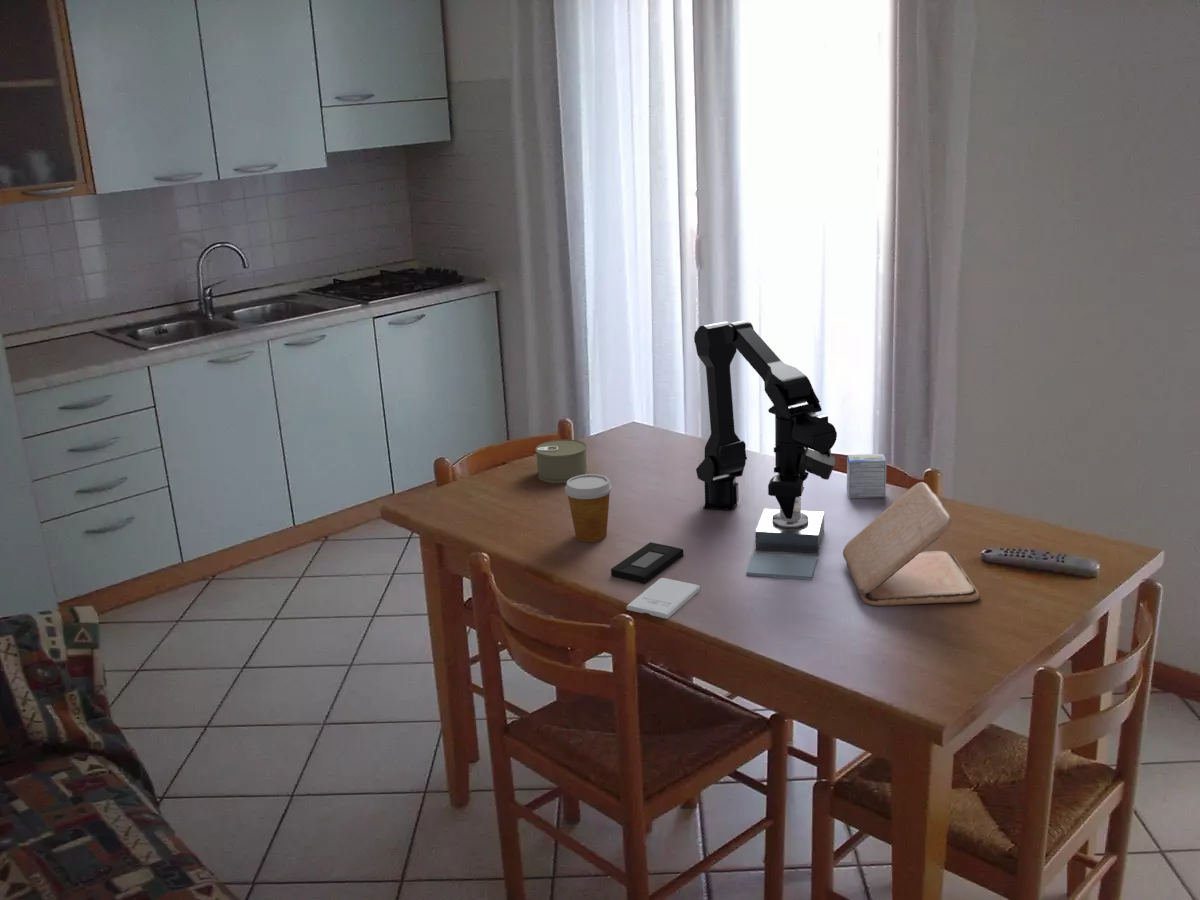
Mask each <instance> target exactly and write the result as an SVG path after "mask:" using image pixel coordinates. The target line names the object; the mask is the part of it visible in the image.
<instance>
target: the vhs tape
mask: <svg viewBox="0 0 1200 900" xmlns="http://www.w3.org/2000/svg"><path fill="white" fill-rule="evenodd" d="M683 557H684V549H683V548H681V547H677V546H676V547H675V546H671V545H666V544H661V543H656V542H649V543H647V544H646V545H644V546H642V547H640V549H638V550H637V551H636V552H633V554H631V555H629V556H627V558H625V559H623V560H622V561H620V562H618V563H617V564H616V565H615V566H613V567H611V568H610V575H611V577H612V578H616V579H620V580H623V581H624V580H625V581H629V582H633V583H637V584H642V585H646V584H647V583H649V582H651V581H652V580H653V579H654V578H655V577H657V576H658V575H660V574H661V573H662V572H664V571H665V570H667V569H668V568H670V567H671V566H672V565H674V564H675V563H676V562H678V561H679V560H681V559H682V558H683Z"/></svg>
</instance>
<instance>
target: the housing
mask: <svg viewBox="0 0 1200 900" xmlns="http://www.w3.org/2000/svg"><path fill="white" fill-rule="evenodd" d="M779 512H780V508H779V509H776V508H764V509H763V512H762V514H761V517H760V519H759V521H758V523H757V524H758V525H757V527H756V528H755V551H758V552H759V551H760V552H761V551H762V552H773V553H777V552H778V553H787V554H788V553H790V554H791V553H792V554H807V555H808V554H809V555H819V552H820V548H821V544H822V540H823V535H824V532H825V511H819V510H818V511H816V510H815V511H814V510H813V511H812V510H801V513H804V514H806V515H807V516H808V524H807V525H805V526H803V527H800V528H782V527H778V526H776V525H774V524H773V522H772V517H773V515H775V514H776V513H779Z"/></svg>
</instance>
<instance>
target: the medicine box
mask: <svg viewBox="0 0 1200 900" xmlns="http://www.w3.org/2000/svg"><path fill="white" fill-rule="evenodd" d="M846 461H847V462H846V492H847V496H848V498H849V499H868V498H872V499H874V498H886V495H887V494H886V492H887V462H888V461H887V459H886V456H885V455H884V454H883V453H879V454H878V453H877V454H876V453H867V454H866V453H865V454H863V453H862V454H848V455H847V456H846Z"/></svg>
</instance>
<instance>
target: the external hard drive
mask: <svg viewBox="0 0 1200 900" xmlns="http://www.w3.org/2000/svg"><path fill="white" fill-rule="evenodd" d="M699 592H701V587H700V585H698V584H695V583H689V582H685V581H681V580H675V579H671V578H665V577H660V578H659V579H658V580H656V581H655V582H654V583H653V584H651V586H649V587H648V588H647V589H645V590H644V591H643V592H641V593H640V594H639V595H638V596H637V597H635V598H634V599H633V600H632V601H631V602H630V603H629V604H627V605H626V610H627V611H632V612H635V613H640V614H647V615H650V616H652V617H658V618H662V619H666V620H667V619H669V618H670V617H671V616H672V615H673V614H675V613H676V612H677V611H678V610H680V609H681V608H682V607H683V606H684V605H685V604H687V602H688V601H690V600H691V599H692V598H693V597H694V596H696V595H697V593H699Z"/></svg>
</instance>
